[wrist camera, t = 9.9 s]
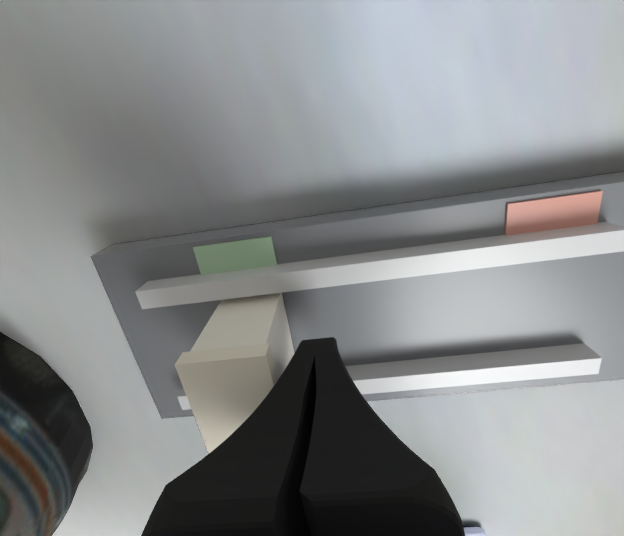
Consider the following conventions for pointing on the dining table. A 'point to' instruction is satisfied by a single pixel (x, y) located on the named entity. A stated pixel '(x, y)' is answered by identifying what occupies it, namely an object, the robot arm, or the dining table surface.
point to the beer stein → (37, 443)
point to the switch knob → (235, 363)
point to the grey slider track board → (401, 290)
